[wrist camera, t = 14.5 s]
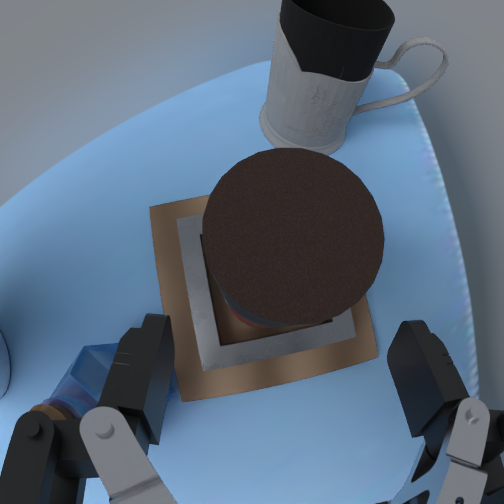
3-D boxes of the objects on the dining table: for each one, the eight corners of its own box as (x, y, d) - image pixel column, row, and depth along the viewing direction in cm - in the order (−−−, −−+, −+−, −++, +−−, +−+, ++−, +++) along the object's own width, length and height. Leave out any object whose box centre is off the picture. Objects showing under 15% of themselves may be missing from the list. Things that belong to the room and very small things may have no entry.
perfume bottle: (117, 343, 24) (34, 349, 12) (174, 391, 23) (125, 439, 12) (81, 393, 23) (-6, 423, 11) (134, 441, 22) (73, 504, 10)
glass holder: (262, 86, 30) (275, -35, 16) (387, 107, 31) (446, 11, 16) (256, 153, 28) (270, 20, 14) (398, 174, 29) (484, 80, 14)
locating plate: (184, 399, 23) (176, 410, 20) (152, 211, 27) (141, 195, 23) (373, 356, 24) (391, 359, 21) (329, 180, 28) (340, 162, 25)
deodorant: (208, 283, 24) (164, 214, 10) (268, 236, 25) (302, 121, 11) (257, 343, 23) (286, 366, 9) (316, 294, 24) (415, 243, 10)
